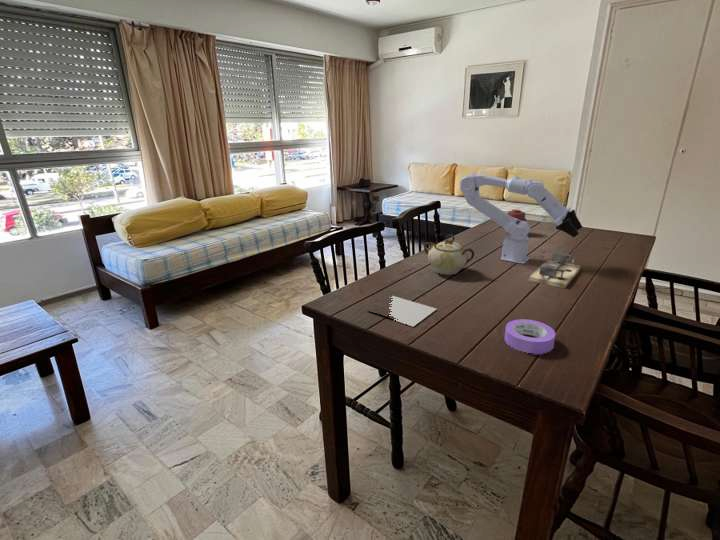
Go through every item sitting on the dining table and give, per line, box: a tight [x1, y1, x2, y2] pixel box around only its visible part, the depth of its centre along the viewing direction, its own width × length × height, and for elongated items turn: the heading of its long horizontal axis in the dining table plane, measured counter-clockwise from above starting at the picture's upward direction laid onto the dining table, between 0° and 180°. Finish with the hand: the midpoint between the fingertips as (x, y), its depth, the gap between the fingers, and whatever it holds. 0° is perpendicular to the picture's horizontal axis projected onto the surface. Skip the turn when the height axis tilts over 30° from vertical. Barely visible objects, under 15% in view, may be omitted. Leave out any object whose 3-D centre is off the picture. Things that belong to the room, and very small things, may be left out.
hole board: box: [528, 259, 582, 289], centre depth 140 cm, size 12×23×5 cm, turn 140°
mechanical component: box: [506, 209, 527, 234], centre depth 193 cm, size 12×10×10 cm
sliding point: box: [551, 251, 577, 264], centre depth 146 cm, size 8×3×3 cm, turn 50°
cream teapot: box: [423, 233, 475, 276], centre depth 144 cm, size 20×15×15 cm
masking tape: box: [504, 318, 556, 355], centre depth 97 cm, size 12×12×4 cm
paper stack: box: [389, 295, 437, 328], centre depth 117 cm, size 23×25×1 cm
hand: (578, 231), depth 143 cm, fingers open, 7 cm apart
